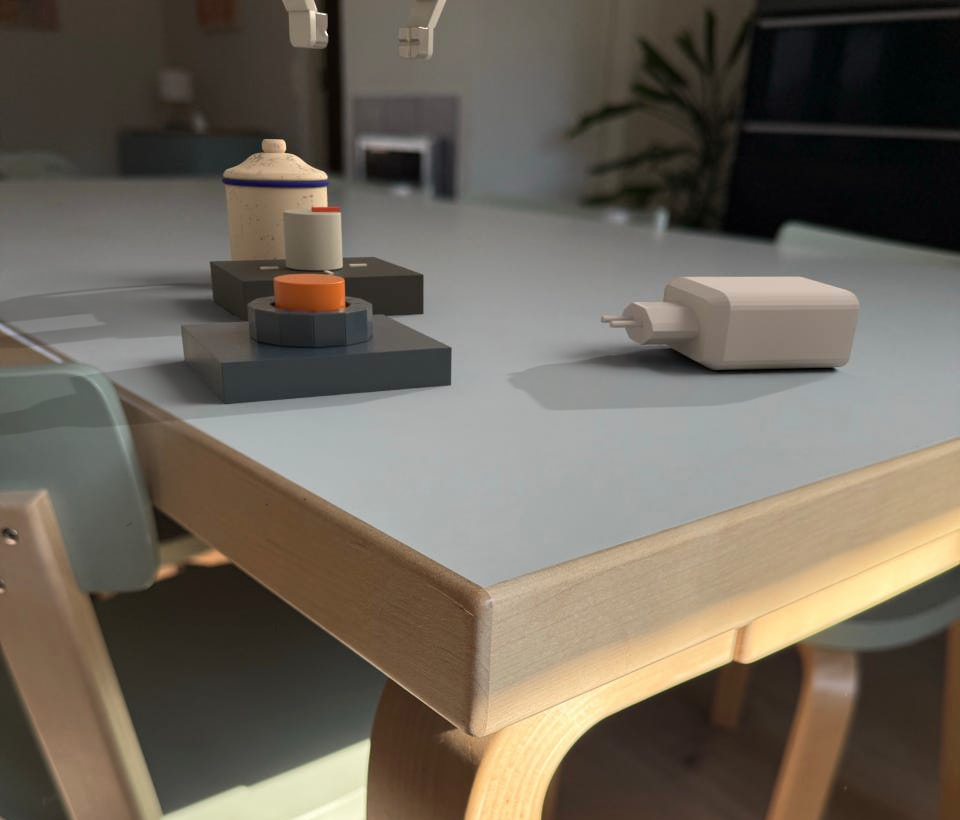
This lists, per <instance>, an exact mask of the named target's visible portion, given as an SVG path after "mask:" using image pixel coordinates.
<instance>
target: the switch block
mask: <svg viewBox="0 0 960 820" xmlns="http://www.w3.org/2000/svg"><path fill="white" fill-rule="evenodd" d="M247 309H248V321H246V322H243V321H230V322H229V321H227V322H210V323H190V324H181V325H180V332H181V342H182V351H183V361H184V362H185V363H186V364H187V366H188V367H189V368H191V370H193V372H194V373H195V375H197V376H198V378H200V379H201V381H202V382H203V383H204V384H205V385H206V386H207V387H208V388H209V389H210V390H211V391H212V392H213V393H214V394H215V396H216V397H217V398H219V400H220V401H221V402H222V403H223V404H224V405H236V404H245V403H258V402H259V403H260V402H271V401H279V400H280V401H284V400H294V399H307V398H319V397H329V396H341V395H352V394H354V395H355V394H365V393H378V392H388V391H390V392H391V391H400V390H401V391H402V390H412V389H424V388H435V387H447V386H449V387H450V386H452V358H453V357H452V353H453V351H452V349H453V347H452V346H450V345H447V344H445V343H443V342H441V341H439V340H437V339H436V338H433V337H431V336H429V335H427V334H425V333H422V332H420V331H418V330H416V329H414V328H412V327H410V326H408V325H406V324H403V323H402V322H399V321H397V320H395V319H394V318H391V317H390V316H385V315H383V314H381V315H372V304H371V303H369V302H367V301H365V300H363V299H360V298H353V297H347V296H345V308H340V309H334V310H318V311H304V310H288V309H281V308H275V296H270V297H264V298H258V299H255V300H254V301H252V302H250V303H248V304H247Z"/></svg>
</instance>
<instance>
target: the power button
mask: <svg viewBox="0 0 960 820" xmlns="http://www.w3.org/2000/svg"><path fill="white" fill-rule="evenodd" d="M273 281H274V296H275V308H281V309H288V310H304V311H318V310H334V309H340V308H345V280H344V278H342V277H338V276H333V275H324V274H290V275H282V276H278V277H275V278H274V280H273Z"/></svg>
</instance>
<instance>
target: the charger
mask: <svg viewBox="0 0 960 820" xmlns="http://www.w3.org/2000/svg"><path fill="white" fill-rule="evenodd" d="M662 298H663V300H662V301H632V302H631V303H630V304H628V305H627V306H626V307H625V308H624V309H623V312H622V314H621V315H602V316H601V317H600V323H603V324H604V323H605V324H607V323H609V328H611V329H612V328H613V329H615V328H616V329H617V328H619V329H620V328H624V329H625V332H626V334H627V336H628V339H631V340H632V341H634V342H635V343H637V344H639V345H640V346H648V345H649V346H650V345H651V346H656V345H658V346H659V345H661V346H662V345H664V346H667V347H669V348H670V349H672V350H674V351H677V352H678V353H680V354H682V355H683V356H684V357H685V356H686V357H687V358H689V359H691V360H692V361H694V362H696V363H698V364H700V365H702V366H703V367H706V368H708V369H709V370H711V371H733V370H734V371H735V370H737V371H738V370H775V369H776V370H778V369H819V368H820V369H822V368H842V367H845V366H846V365H847V364H848V363H849V361H850V359H851V353H852V348H853V343H854V339H855V334H856V329H857V323H858V320H859V319H858V318H859V313H860V307H861V306H860V304H861V303H860V301H859V299H858V297H857V295H855V294H854V292H852V291H850V290H848V289H844V288H841V287H837V286H834V285H830V284H827V283H823V282H821V281H816V280H813V279H810V278H806V277H803V276H679V277H676V278H675V279H673V280H672V281H671V282H669V283H668V284H666V286H664V291H663V297H662Z"/></svg>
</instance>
